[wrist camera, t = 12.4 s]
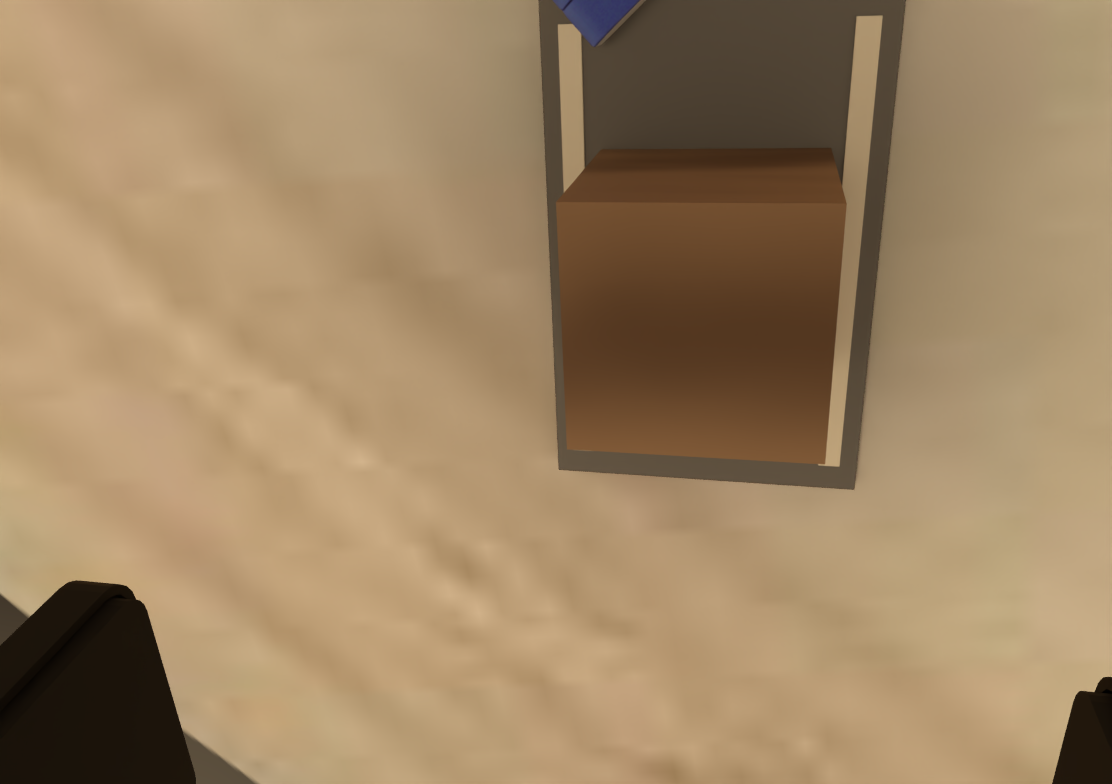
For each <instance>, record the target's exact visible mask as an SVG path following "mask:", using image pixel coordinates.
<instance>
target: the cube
mask: <svg viewBox="0 0 1112 784" xmlns="http://www.w3.org/2000/svg"><path fill="white" fill-rule="evenodd" d="M846 207H847V203H846V199H845V196H844V192H843V188H842V185H841V181H840V178H839V174H838V170H837V167H836V163H835V160H834V156H833V153H832V149H831V148H740V149H601V150H600V151H599V152H598V154H597V155H596V156H595V157H594V158H593V159H592V161H591V162H590V163H589V164H588V165H587V166H586V168H585V169H584V170H583V171H582V172H581V173H580V175H579V176H578V177H577V178H576V179H575V180H574V182H573V183H572V184H571V185H570V186H569V188H568V189H567V190H566V191H565V192H564V193H563V195H562V196H561V197H560V198H559V199H558V200H557V202H556V213H557V236H558V259H559V281H560V304H561V326H562V349H563V372H564V394H565V417H566V440H567V449H569V450H586V451H603V452H620V453H637V454H654V455H671V456H688V457H705V458H722V459H740V460H757V461H774V462H791V463H808V464H825V460H826V448H827V436H828V424H829V412H830V400H831V388H832V376H833V363H834V351H835V339H836V327H837V315H838V303H839V291H840V279H841V267H842V255H843V243H844V231H845V219H846Z"/></svg>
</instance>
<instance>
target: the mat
mask: <svg viewBox="0 0 1112 784" xmlns="http://www.w3.org/2000/svg"><path fill="white" fill-rule="evenodd" d="M905 1H906V0H646V1H645V2H644V3H643V4H642V5H641V6H640V7H639V8H638V9H637V10H636V11H635V12H634V13H633V14H632V15H631V16H630V17H629V18H628V19H627V20H626V21H625V22H624V23H623V24H622V25H621V26H620V27H619V28H618V29H617V30H616V31H615V32H614V33H613V34H612V35H611V36H610V37H609V38H608V39H607V40H606V41H605V42H604V43H603V44H602V45H599V46H596V47H593V46H591V44H590V43H589V42H588V41H587V40H586V39H585V37H584V36H583V35H582V34H581V33H580V32H579V31H578V30H577V28H576V27H575V26H574V25H573V24H572V23H571V21H570V20H569V19H568V18H567V17H566V15H565V14H564V12H563V11H562V10H561V9H560V8H559V7H558V6H557V5H556V4H555V3H554V1H553V0H539V20H540V43H541V67H542V90H543V113H544V137H545V160H546V183H547V207H548V230H549V253H550V277H551V300H552V323H553V347H554V370H555V393H556V417H557V440H558V463H559V470H570V471H585V472H600V473H615V474H629V475H644V476H659V477H674V478H688V479H703V480H718V481H733V482H747V483H762V484H777V485H792V486H807V487H821V488H836V489H851V490H854V488H855V478H856V469H857V459H858V450H859V440H860V431H861V421H862V412H863V402H864V393H865V383H866V373H867V364H868V354H869V345H870V335H871V326H872V316H873V307H874V297H875V288H876V278H877V269H878V259H879V249H880V240H881V230H882V221H883V211H884V202H885V192H886V183H887V173H888V164H889V154H890V145H891V135H892V125H893V116H894V106H895V97H896V87H897V78H898V68H899V59H900V49H901V40H902V30H903V21H904V11H905ZM740 148H831V149H832V153H833V156H834V160H835V163H836V167H837V170H838V174H839V178H840V181H841V185H842V188H843V192H844V196H845V199H846V203H847V207H846V219H845V231H844V243H843V255H842V267H841V279H840V291H839V303H838V315H837V327H836V339H835V351H834V363H833V376H832V388H831V400H830V412H829V424H828V436H827V448H826V460H825V464H808V463H791V462H774V461H757V460H740V459H722V458H705V457H688V456H671V455H654V454H637V453H620V452H603V451H586V450H569V449H567V440H566V417H565V394H564V372H563V349H562V326H561V304H560V281H559V259H558V236H557V213H556V202H557V200H558V199H559V198H560V197H561V196H562V195H563V193H564V192H565V191H566V190H567V189H568V188H569V186H570V185H571V184H572V183H573V182H574V180H575V179H576V178H577V177H578V176H579V175H580V173H581V172H582V171H583V170H584V169H585V168H586V166H587V165H588V164H589V163H590V162H591V161H592V159H593V158H594V157H595V156H596V155H597V154H598V152H599V151H600V150H601V149H740Z"/></svg>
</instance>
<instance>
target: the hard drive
mask: <svg viewBox="0 0 1112 784" xmlns="http://www.w3.org/2000/svg"><path fill="white" fill-rule="evenodd" d="M553 1H554V3H555V4H556V5H557V6H558V7H559V8H560V9H561V10H562V11H563V12H564V14H565V15H566V17H567V18H568V19H569V20H570V21H571V23H572V24H573V25H574V26H575V27H576V28H577V30H578V31H579V32H580V33H581V34H582V35H583V36H584V37H585V39H586V40H587V41H588V42H589V43H590V44H591V46H593V47H596V46H599V45H602V44H603V43H604V42H605V41H606V40H607V39H608V38H609V37H610V36H611V35H612V34H613V33H614V32H615V31H616V30H617V29H618V28H619V27H620V26H621V25H622V24H623V23H624V22H625V21H626V20H627V19H628V18H629V17H630V16H631V15H632V14H633V13H634V12H635V11H636V10H637V9H638V8H639V7H640V6H641V5H642V4H643V3H644V2H645V1H646V0H553Z"/></svg>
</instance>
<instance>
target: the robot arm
mask: <svg viewBox="0 0 1112 784" xmlns="http://www.w3.org/2000/svg"><path fill="white" fill-rule="evenodd" d="M0 784H196V777H195V772H194V769H193V765H192V762H191V759H190V755H189V752H188V749H187V745H186V742H185V738H184V735H183V731H182V728H181V724H180V721H179V718H178V714H177V711H176V707H175V704H174V701H173V697H172V694H171V690H170V687H169V684H168V680H167V677H166V673H165V670H164V667H163V663H162V660H161V657H160V653H159V650H158V646H157V643H156V640H155V636H154V633H153V629H152V626H151V623H150V619H149V616H148V612H147V610H146V607H145V605H144V604H143V603H142V602H141V601H139V600H136V598H135V596H134V594H133V592H132V591H131V590H130V589H129V588H128V587H127V586H124V585H120V584H109V583H98V582H88V581H77V580H76V581H72V582H68V583H67V584H65V585H64V586H62V587H61V588H60V589H59V590H57V591H56V592H55V593H54V594H53V595H52V596H51V597H50V598H49V599H48V600H47V601H46V602H45V603H44V604H43V605H42V606H41V607H40V608H39V609H38V610H37V611H36V612H35V613H34V614H33V615H32V616H30V617H29V618H28V619H27V620H26V621H25V622H24V623H23V624H22V625H21V626H20V627H19V628H18V629H17V630H16V631H15V632H14V633H13V634H12V635H11V636H10V637H9V638H8V639H7V640H6V641H5V642H3V644H1V646H0ZM1052 784H1112V677H1103V678H1102V679H1101V680H1100V682H1099V683H1098V685H1097V688H1096V690H1095V692H1087V691H1079V692H1078V693H1077V695H1076V696H1075V699H1074V702H1073V705H1072V709H1071V713H1070V717H1069V721H1068V725H1067V729H1066V732H1065V736H1064V740H1063V744H1062V748H1061V752H1060V756H1059V760H1058V763H1057V767H1056V771H1055V775H1054V779H1053V783H1052Z"/></svg>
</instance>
